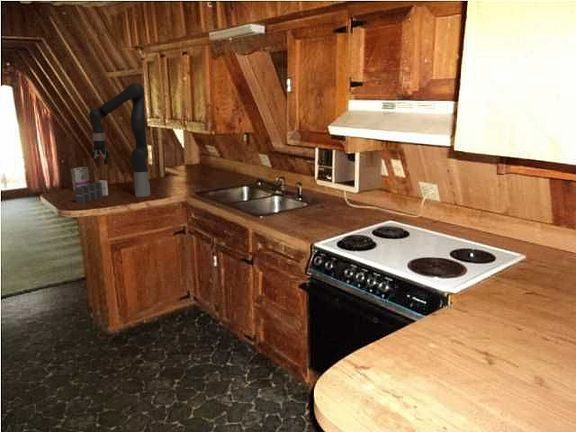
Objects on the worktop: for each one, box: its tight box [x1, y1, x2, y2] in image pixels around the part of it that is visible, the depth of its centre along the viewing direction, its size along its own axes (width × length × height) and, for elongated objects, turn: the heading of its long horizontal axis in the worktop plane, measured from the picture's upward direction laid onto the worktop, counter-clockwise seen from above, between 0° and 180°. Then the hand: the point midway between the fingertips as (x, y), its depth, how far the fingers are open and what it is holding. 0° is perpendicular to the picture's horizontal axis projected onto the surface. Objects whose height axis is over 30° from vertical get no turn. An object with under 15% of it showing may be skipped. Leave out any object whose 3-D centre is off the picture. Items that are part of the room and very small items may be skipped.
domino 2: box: [81, 185, 92, 202], centre depth 300 cm, size 2×5×10 cm, turn 75°
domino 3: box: [87, 183, 98, 200], centre depth 306 cm, size 2×5×10 cm, turn 75°
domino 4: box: [92, 181, 104, 198], centre depth 311 cm, size 2×5×10 cm, turn 75°
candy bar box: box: [70, 166, 91, 192], centre depth 329 cm, size 11×5×16 cm, turn 143°
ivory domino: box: [98, 179, 109, 196], centre depth 317 cm, size 2×5×10 cm, turn 75°
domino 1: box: [74, 187, 86, 205], centre depth 295 cm, size 2×5×10 cm, turn 75°
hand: (101, 164), depth 312 cm, fingers open, 6 cm apart
